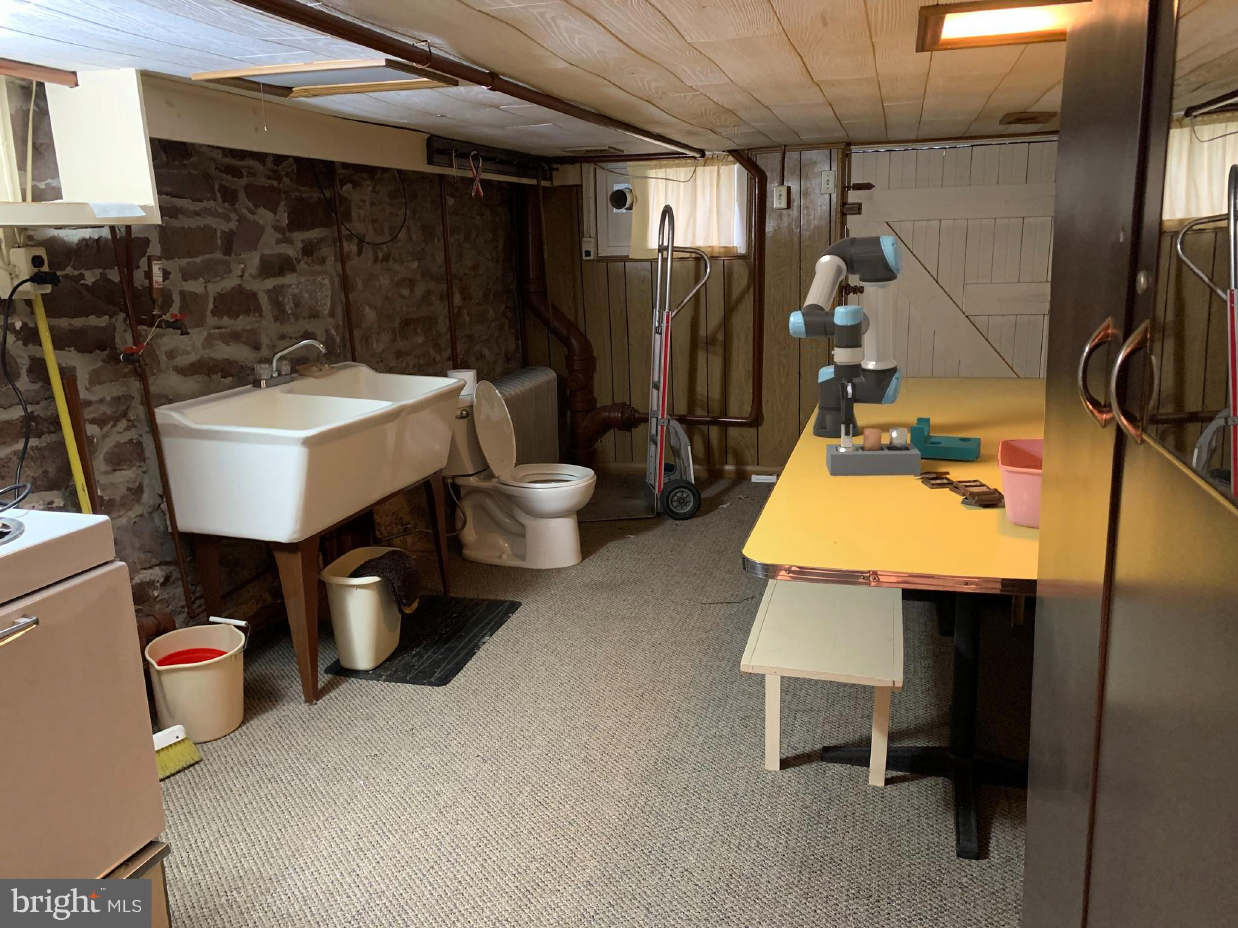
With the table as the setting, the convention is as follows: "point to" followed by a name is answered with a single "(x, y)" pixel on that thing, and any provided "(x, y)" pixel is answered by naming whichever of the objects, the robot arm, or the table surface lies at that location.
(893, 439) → the steel plug
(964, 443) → the teal l-shaped bracket
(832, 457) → the grey rectangular block
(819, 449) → the table surface
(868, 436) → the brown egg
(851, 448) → the steel plug
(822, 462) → the table surface
